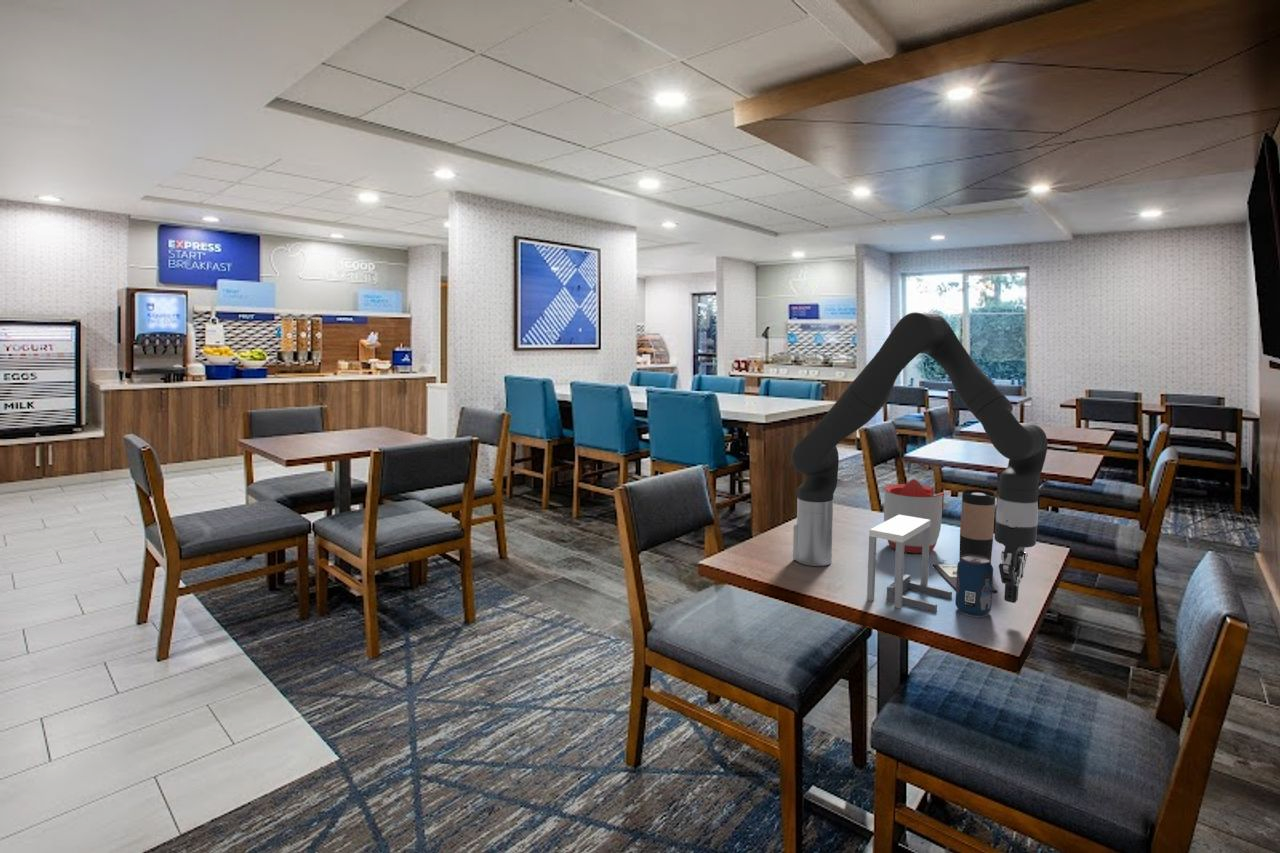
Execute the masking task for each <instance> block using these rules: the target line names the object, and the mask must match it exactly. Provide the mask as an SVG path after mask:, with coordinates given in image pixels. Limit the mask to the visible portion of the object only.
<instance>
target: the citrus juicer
mask: <svg viewBox="0 0 1280 853" xmlns="http://www.w3.org/2000/svg"><path fill="white" fill-rule="evenodd" d="M934 489H935V487H933V486H931V485H930V486H929V485H922V484H920V482H919V481H918V480H916V479H915V478H913V479H911V480H909V481H908V482H907V483H899V484H898V483H897V484H895V483H894V484H889V485H888V484H887V485H886V486H884V488H883V490H884V508H883V510H884V511H883V522H885V521H887V520H889V519H891V518H893V517H895V516H897V515H905V516H911V517H917V518H923V519H929V520H931V523H930V544H929V553H931V552H932V551H934V549H935V547H936V545H937V542H938V538H939V536H940V532H941V528H942V527H941V526H942V515H943V514H942V512H943V510H944V509H948V508H949V505H948V504H947V503H946V502H944V499H945V498H944V496H945V492H944V491H942V492H939V493H937V494H936V495H935V494H934V491H935V490H934ZM887 542H888V546H889V547H890V548H892V549H894V550H896V541H892V540H887ZM922 544H923V531H921V532H920V533H918V534H916V535H914V536H913V537H911V538H909V539H908V540H906V541H905V547H904V552H909V553H913V554H922Z"/></svg>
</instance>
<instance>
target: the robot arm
mask: <svg viewBox="0 0 1280 853" xmlns="http://www.w3.org/2000/svg"><path fill="white" fill-rule="evenodd" d="M879 348H880V349H879V350H878V351H877V352H876V354H875V355H874V357H872V358H871V359H870V361H869V362H868V363H867V364H866V365H865V367H864V368H863V369H862V370H861V371H860V373H859V374H857V376H856V377H855V379H853V381H852V382H851V383H850V384H849V386H847V388H846V389H845V390H844V392H842V394H841V395H840V396H839V398H838V399H837V401H836V402H835V403H834V404H833V405H832V406H831V408H830V409H829V410H828V411H827V412H826V414H825V415H824V416H823V417H822V419H821V420H820V421H819V423H817V424H816V426H815V427H813V428H812V429H811V430H810V431H809V432H808V433H807V434H806V435H805V436H804V437H803V438H802V439H801V440H800V441H799V442H797V444H796V445H795V447H794V448H793V451H792V454H791V464H792V466H793V468H794V469H795V471H797V472H798V473H799V474H802V475H805V476H806V477H805V480H804V481H803V482H802V483H801V484H800V485H799V486H798V488H797V499H796V500H797V505H796V524H794V525H793V536H792V537H793V538H792V541H793V543H792V547H793V548H792V560H793V561H796V562H798V563H799V564H802V565H804V566H805V565H806V566H811V567H825V566H828V565H831V563H832V558H833V557H832V556H833V553H832V551H833V548H832V547H833V520H834V494H835V491H836V489H837V485H838V475H839V474H838V473H839V465H840V464H839V458H840V457H839V451H838V447H837V445H838V444H840V443H841V442H842V441H843V440H844V439H846V438H847V437H849V436H850V435H853V433H855V432H857V431H859V429H861V428H863V426H865V425H866V424H867V423H869V422H870V421H871V420H872V419H873V418H874V417H875V416H876V415H877V414H878V413H879V411H881V409H882V408H883V407H884V406H885V405H886V403H887V402H888V400H889V398H890V397H891V394H892V393H893V392H892V391H893V388H894V385H895V382H896V381H897V378H898V376H899V375H900V374H901V372H902V371H903V370H904V369H905V368H906V367H907V365H909V364H910V362H912V361H913V360H914V359H915V358H916V357H917V356H918V355H919V354H926V355H928V356H929V357H930V358H931V359H933V360H934V362H936V363H938V365H939V366H940V367H941V368H942V370H944V371H945V373H946V375H947V376H948V378H949V380H950V381H951V384H952V386H953V388H954V392H955V393H956V395H957V396H958V398H959V399H960V402H962V403H963V405H964V406H965V407H966V408H967V409H968V411H969V412H970V413H971V414H972V415H973V416H974V417H975V418H976V420H977V421H979V423H980V424H981V426H982V428H983V430H984V432H985V434H986V435H987V437H988V439H989V441H990V442H991V444H992V446H993V447H994V448H995V450H996V451H997V452H998V453H999V454H1001V456H1003V457H1004V458H1006V459H1008V464H1007V466H1006V467H1007V468H1005V470H1003V471H1002V472H1001V474H1000V477H999V483H998V484H999V486H998V498H997V503H996V507H995V508H996V510H995V511H996V512H995V521H994V536H993V539H994V540H995V542H997V543H998V544H1001V545H1003V546H1004V549H1003V550H1002V551H1001V554H1000V560H1001V562H1000V563H999V565H998V568H999V569H998V570H999V575H1000V579H1001V584H1004V595H1003V596H1004V598H1003V599H1004V601H1005V602H1008V603H1013V604H1015V603H1016V602H1017V601H1018V599H1019V586H1020V583H1022V580H1021V579H1023V578H1024V571H1025V566H1026V563H1027V559H1028V556H1029V554H1028V552H1027V551H1025V548H1032V547H1035V546H1036V544H1037V534H1038V521H1039V506H1038V500H1039V490H1040V489H1039V488H1040V486H1039V485H1040V484H1039V483H1040V482H1039V481H1040V477H1041V474H1042V471H1043V468H1044V465H1045V461H1046V458H1047V457H1046V456H1047V452H1048V437H1047V435H1046V433H1045V431H1044V430H1043V428H1041V427H1040V426H1039V425H1037V424H1034V423H1022V424H1021V423H1020V422H1019V421H1018V419H1017V418H1016V417H1015V415H1014V413H1013V408H1014V407H1013V404H1012V402H1011V401H1010V400H1009V399H1008V398H1007V397H1006V396H1005V394H1004V393H1003V392H1002V391H1001V390H1000V389H999V388H998V387H997V386H996V385H995V383H993V382H992V380H991V379H990V378H989V377H988V376H987V375H986V374H985V373H984V372H983V370H982V369H981V368H980V367H979V365H978V364H977V363H976V362H975V361H974V359H973V358H972V357H971V355H970V354H969V353H968V351H967V349H965V347H964V345H963V344H962V343H961V341H960V340H959V338H958V336H957V335H956V333H955V332H954V330H953V328H952V326H951V325H950V323H948V321H947V320H946V319H945V318H944V317H943V316H942V315H940V314H938V313H935V312H929V311H928V312H926V311H913V312H909V313H907V314H906V315H904V316H903V317H902V318H901V319H899V321H898V322H897V323H896V324H895V326H894V328H893V329H892V331H891V332H890V333H889V335H888V336H887V338H886V339H885V341H884V343H883V344H882V345H881V347H879Z"/></svg>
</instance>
